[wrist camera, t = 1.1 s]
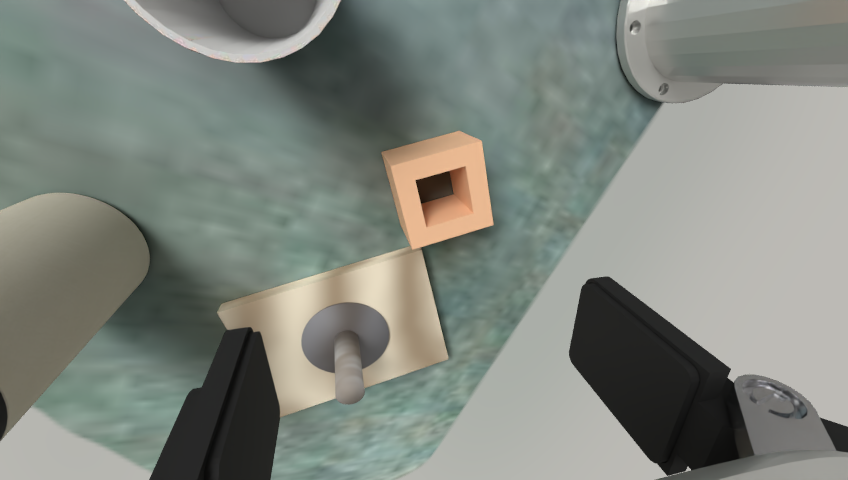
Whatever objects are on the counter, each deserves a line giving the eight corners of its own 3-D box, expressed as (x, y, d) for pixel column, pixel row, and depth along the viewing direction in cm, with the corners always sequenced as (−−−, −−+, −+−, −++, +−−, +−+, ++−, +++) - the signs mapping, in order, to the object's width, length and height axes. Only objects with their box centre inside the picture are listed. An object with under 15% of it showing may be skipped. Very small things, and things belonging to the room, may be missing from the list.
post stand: (418, 243, 30) (442, 289, 24) (445, 350, 36) (470, 411, 29) (221, 303, 28) (190, 370, 22) (280, 406, 34) (270, 484, 28)
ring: (459, 130, 27) (481, 140, 23) (471, 204, 30) (493, 224, 26) (381, 152, 27) (390, 166, 23) (400, 225, 29) (412, 249, 25)
